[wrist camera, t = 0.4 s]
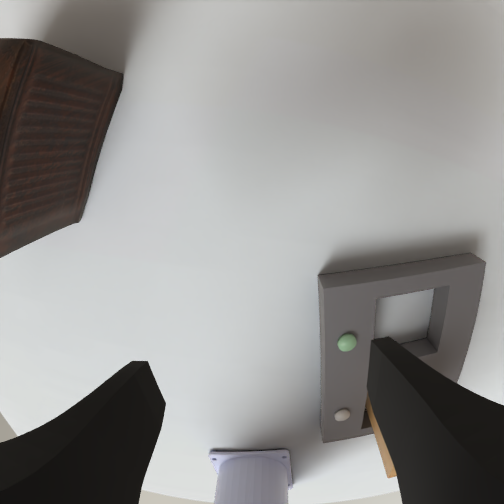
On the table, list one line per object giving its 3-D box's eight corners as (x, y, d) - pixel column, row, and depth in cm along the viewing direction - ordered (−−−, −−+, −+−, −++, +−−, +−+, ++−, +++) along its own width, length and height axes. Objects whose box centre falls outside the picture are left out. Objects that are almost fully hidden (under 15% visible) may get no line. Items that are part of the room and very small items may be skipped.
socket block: (437, 398, 22) (446, 414, 20) (320, 426, 23) (323, 445, 21) (470, 252, 17) (488, 263, 15) (317, 275, 18) (324, 290, 16)
